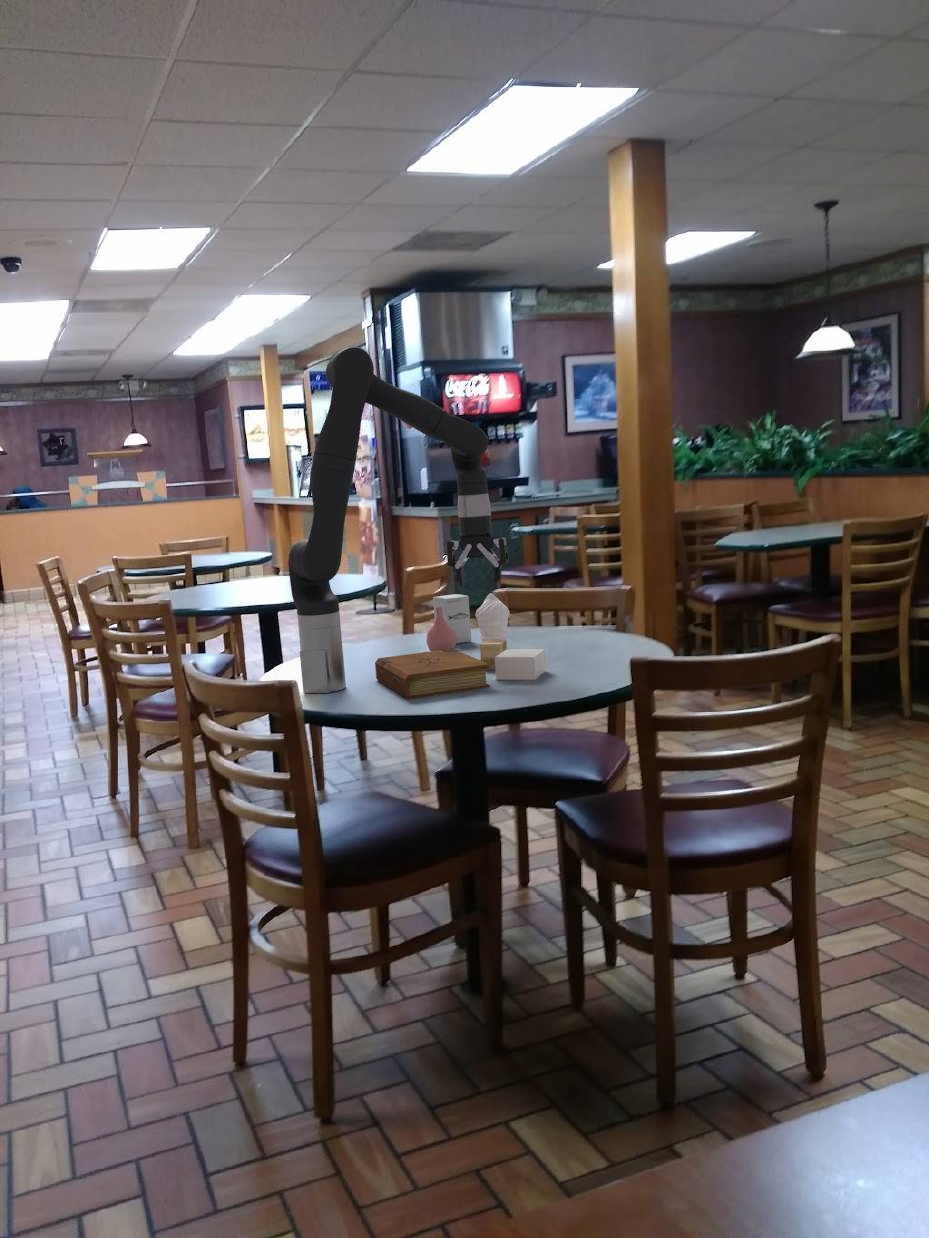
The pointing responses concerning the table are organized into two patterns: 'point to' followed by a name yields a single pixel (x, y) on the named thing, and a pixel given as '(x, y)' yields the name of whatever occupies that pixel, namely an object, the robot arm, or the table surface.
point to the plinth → (520, 664)
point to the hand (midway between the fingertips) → (479, 583)
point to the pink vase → (440, 634)
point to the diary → (431, 673)
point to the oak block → (492, 651)
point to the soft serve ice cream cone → (492, 619)
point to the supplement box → (455, 614)
